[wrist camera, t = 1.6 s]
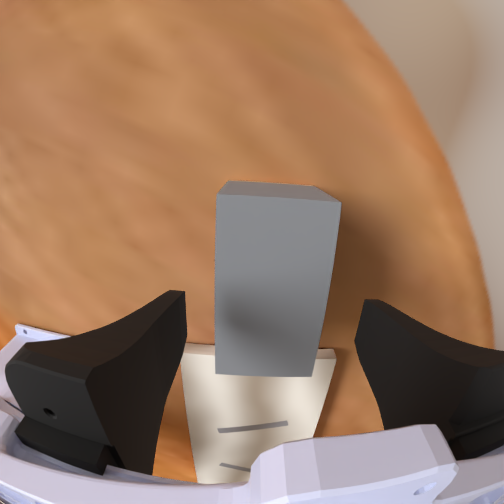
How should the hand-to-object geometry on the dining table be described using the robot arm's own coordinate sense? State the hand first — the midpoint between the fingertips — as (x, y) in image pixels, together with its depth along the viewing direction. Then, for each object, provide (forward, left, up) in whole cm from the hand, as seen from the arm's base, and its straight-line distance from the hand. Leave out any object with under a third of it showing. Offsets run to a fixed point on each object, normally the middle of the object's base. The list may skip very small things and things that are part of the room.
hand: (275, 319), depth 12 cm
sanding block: (0, 0, -8) cm, 8 cm away
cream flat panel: (0, -19, -8) cm, 20 cm away
